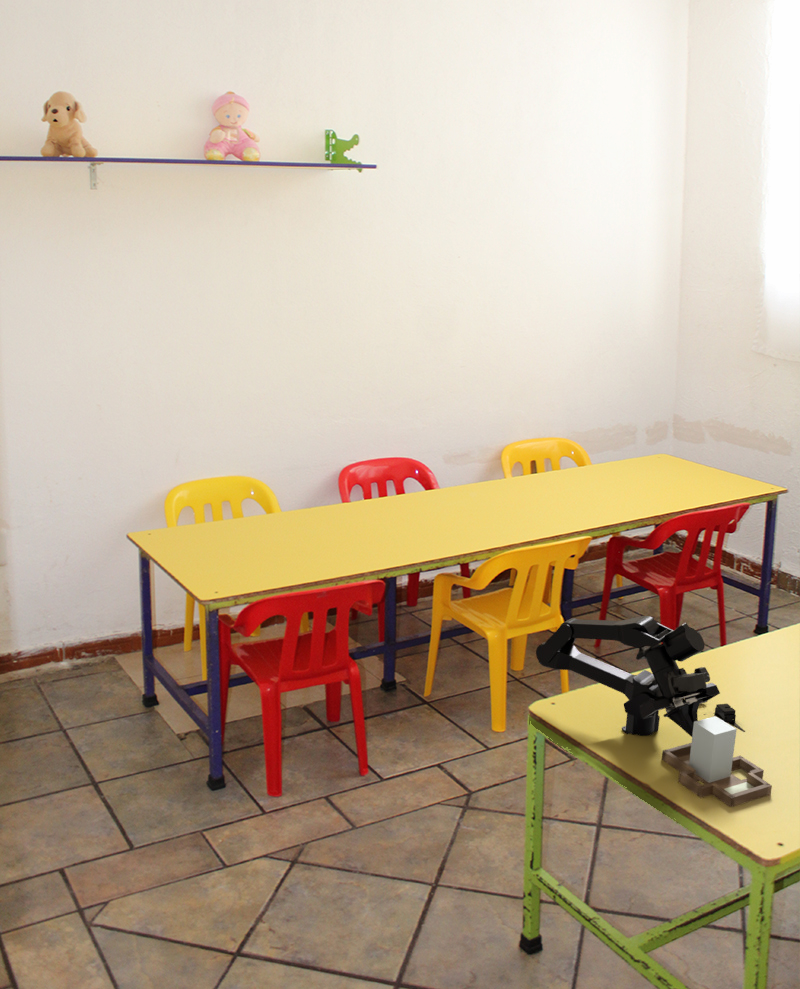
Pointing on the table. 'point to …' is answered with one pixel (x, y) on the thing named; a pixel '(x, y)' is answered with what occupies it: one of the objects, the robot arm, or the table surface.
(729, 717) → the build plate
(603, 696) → the table surface
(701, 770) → the block
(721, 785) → the brown compartment tray
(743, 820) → the table surface
